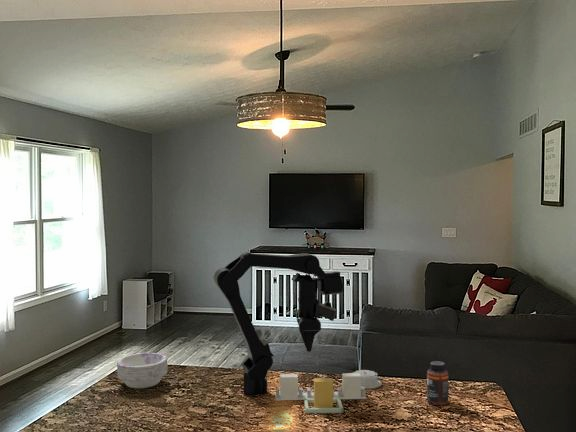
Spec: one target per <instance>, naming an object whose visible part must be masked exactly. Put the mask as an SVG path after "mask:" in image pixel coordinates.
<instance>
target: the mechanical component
mask: <svg viewBox="0 0 576 432" xmlns="http://www.w3.org/2000/svg"><path fill="white" fill-rule="evenodd" d="M352 373H359V374H360V375H361V387H364V388H365V390H369V389H376V388H380V387H381V386H382V384H383V383H382V381H380V380H379V378H378V373H377V372H375V371H374V370H369V369H361V370H360V369H359V370H355V371H353V372H352Z"/></svg>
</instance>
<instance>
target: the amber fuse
mask: <svg viewBox="0 0 576 432" xmlns="http://www.w3.org/2000/svg"><path fill="white" fill-rule="evenodd" d="M333 389H334V380H333V377H329V378H328V377H321V378H320V377H316V378H315V377H314V378H313V392H314V403H313V408H334V403H333Z"/></svg>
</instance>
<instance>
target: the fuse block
mask: <svg viewBox="0 0 576 432" xmlns="http://www.w3.org/2000/svg"><path fill="white" fill-rule="evenodd" d="M333 398H340V400H367V399H368V398H367V395H366V389H365V388H364V387H361V397H343V395H342V386H337V391H335V390H334V388H333ZM304 399H314V391H312V389H311V387H306V392H304V391H303V387H298V398H280V387H276V388H275V392H274V401H304Z"/></svg>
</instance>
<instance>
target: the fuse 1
mask: <svg viewBox="0 0 576 432" xmlns="http://www.w3.org/2000/svg"><path fill="white" fill-rule="evenodd" d="M279 376H280V377H279V382H280V384H279V393H280V398H298V393H299V376H298V373H280V374H279Z"/></svg>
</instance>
